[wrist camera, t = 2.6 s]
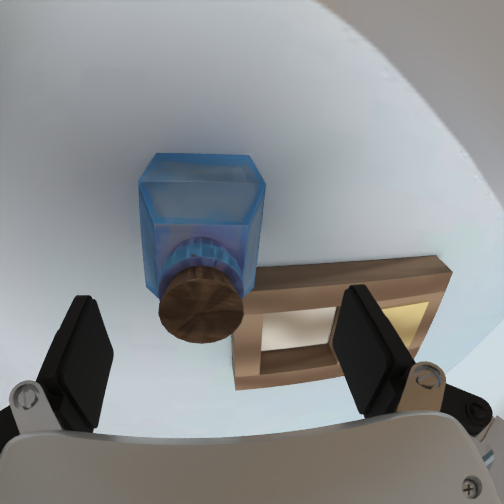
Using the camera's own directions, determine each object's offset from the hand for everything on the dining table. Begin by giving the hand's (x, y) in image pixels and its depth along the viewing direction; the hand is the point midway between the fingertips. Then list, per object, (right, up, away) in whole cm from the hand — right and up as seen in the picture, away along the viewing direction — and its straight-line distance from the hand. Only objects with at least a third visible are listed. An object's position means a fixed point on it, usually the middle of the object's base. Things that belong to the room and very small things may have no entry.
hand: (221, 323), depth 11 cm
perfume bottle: (-2, +6, +10) cm, 12 cm away
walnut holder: (+9, -3, +18) cm, 20 cm away
